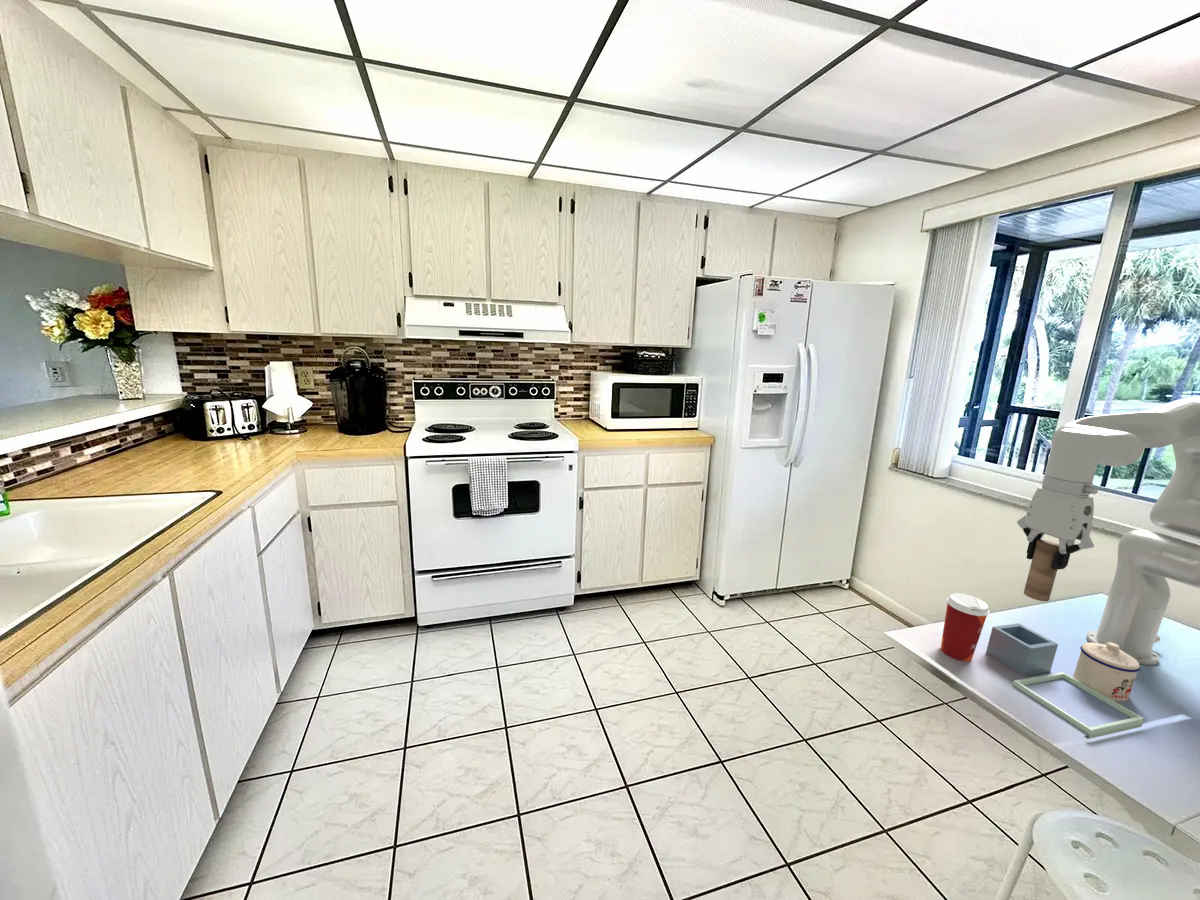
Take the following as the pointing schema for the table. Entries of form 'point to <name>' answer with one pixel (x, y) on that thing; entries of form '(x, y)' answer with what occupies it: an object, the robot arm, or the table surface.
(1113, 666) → the teacup with lid
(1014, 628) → the deep square box
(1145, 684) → the table surface
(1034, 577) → the peg
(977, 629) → the coffee cup
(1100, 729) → the tray
